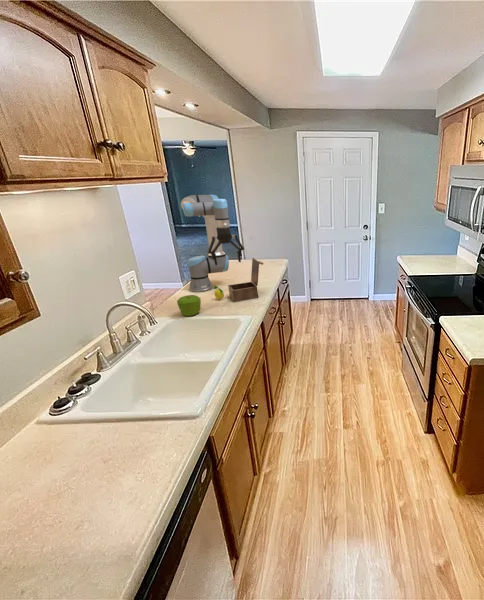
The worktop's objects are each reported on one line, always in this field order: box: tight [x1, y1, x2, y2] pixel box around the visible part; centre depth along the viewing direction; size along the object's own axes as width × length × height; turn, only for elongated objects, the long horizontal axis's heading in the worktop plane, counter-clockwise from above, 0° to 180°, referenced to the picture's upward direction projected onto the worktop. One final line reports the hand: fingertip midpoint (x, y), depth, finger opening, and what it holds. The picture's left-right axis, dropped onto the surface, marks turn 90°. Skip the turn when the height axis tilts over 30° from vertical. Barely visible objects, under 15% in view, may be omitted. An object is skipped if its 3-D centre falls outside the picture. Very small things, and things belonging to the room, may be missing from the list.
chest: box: [227, 281, 259, 303], centre depth 220 cm, size 16×14×8 cm
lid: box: [250, 257, 264, 287], centre depth 221 cm, size 16×14×5 cm
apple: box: [176, 294, 202, 317], centre depth 192 cm, size 12×12×11 cm
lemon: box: [212, 285, 225, 301], centre depth 215 cm, size 7×6×10 cm
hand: (228, 263), depth 196 cm, fingers open, 13 cm apart
